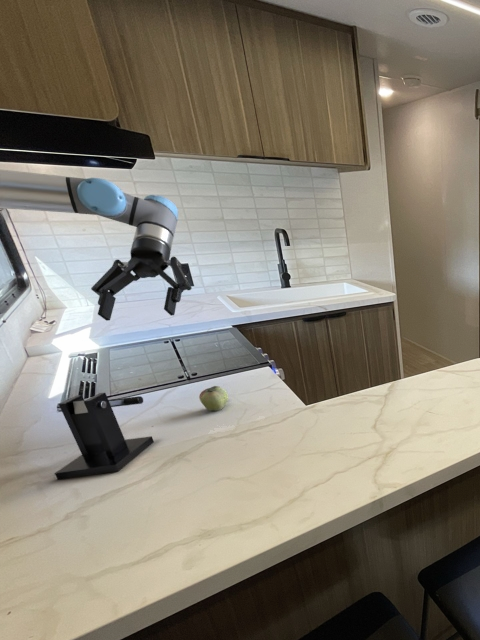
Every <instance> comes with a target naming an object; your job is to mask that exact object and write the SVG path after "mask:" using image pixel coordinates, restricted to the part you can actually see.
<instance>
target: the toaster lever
mask: <svg viewBox="0 0 480 640" xmlns="http://www.w3.org/2000/svg"><path fill="white" fill-rule="evenodd" d="M108 400H109V403H110V405H111V407H112V408H116V407H124V406H134V405H142V404H143V403H144V398H143V396H141V395H140V396H130V397H121V398H113V399H108ZM84 401H85V400H84ZM84 401H76V402H73V405H74V412H75V414H81V413H88V411H87V408H86V406H85V404H84Z"/></svg>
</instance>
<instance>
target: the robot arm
mask: <svg viewBox="0 0 480 640" xmlns="http://www.w3.org/2000/svg"><path fill="white" fill-rule="evenodd" d="M0 209H6V210H7V209H8V210H23V211H38V212H51V213H53V212H54V213H67V214H79V215H92V216H99V217H103V218H105V219H109V220H111V221H115V222H119V223H122V224H126V225H129V226H132V227H136V228H135V231H134V235H133V239H132V240H133V241H132V244H131V248H130V251H129V252H130V258H129V260H128V261H121V260H120V259H115V260H114V261H113V263H112V266H111V267H110V268H109V269H108V270H107V271H106V272H105V273H104V274H103V275H102V276H101V277H100V278H99V279H98V280H97V281H96V282H95V283H94V284H93V286H91V288H90V290H91V291H93V292H94V293H95V294H96V295H98V299H97V300H98V301H97V304H98V306H99V307H98V311H97V315H98V316H99V317H100V318H102V319H103V320H105V321H106V322H107V321H108V322H109V321H111V319H112V314H113V311H114V307H115V302H116V299H117V298H116V297H115V295H117V294H118V293H119V292H121V291H123V289H125V288H126V287H128V286H129V285H130V284H132V283H133V282H138V281H139V280H140V279H147V278H156V277H158V276H159V277H161V278H162V279H163V280H164V281H165V282H166V283H167V284H168V285H169V286H168V287H167V291H166V296H165V301H164V305H163V306H164V307H163V310H164V311H165V312H166V313H167V314H168V315H169V316H175V314H176V309H177V303H180V302H181V299H182V293H183V292H184V291H191V290H192V289H193V288H192V286H191V284H190V282H189V280H188V278H187V277H186V275H185V273H184V271H183V269H182V266H183V265H182V262H180V261H179V259H178V257H176V256H171V252H172V247H173V242H174V238H175V233H176V228H177V223H178V215H179V211H178V207H177V206H176V204H175V203H174V202H173V201H171V200H170V199H168V198H166V197H165V196H161V195H155V194H149V195H146V196H145V197H144V198H141V197H138V196H134V195H131V194H129V193H126V192H123V191H122V189H121V188H119V186H117V185H116V184H115V183H113V182H111V181H110V180H107V179H105V178H104V179H103V178H99V177H89V178H83V177H74V176H73V177H71V176H65V175H55V174H45V173H36V172H27V171H18V170H8V169H0ZM169 266H170V268H171V269H172V270H173V272H174V274H175V275H176V277H177V279H178V281H179V283H177V282H176V281H175V280H174V279H173V278H172V277H171V276H170V275H168V273H166V272H165V270H166V269H168V268H169ZM132 272H133V273H134V274H133V273H132Z"/></svg>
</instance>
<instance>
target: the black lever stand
mask: <svg viewBox="0 0 480 640" xmlns="http://www.w3.org/2000/svg"><path fill="white" fill-rule="evenodd" d="M109 400H110V399H109V398H108V395H107V393H106V392H98V393H97V394H95V395H93V396H91V397H89V398H87V399H84V396H83V395H82V394H78V395H75V396H73V397H70V398H68V399H66V400H64V401H62V402H60V403H59V404H58V406H59V408H60V411H61V413H62V415H63V417H64V419H65V421H66V423H67V425H68V428H69V430H70V432H71V434H72V437H73V439H74V441H75V443H76V445H77V447H78V449H79V452H80V453H81V455H79V456H78V457H76V458H75V459H74V460H72V461H70V462H69V463H67V464H66V465H65V466H63V467H61V468H60V469H59V470H57V471H55V472H54V476H55V478H56V480H57V481H60V480H68V479H74V478H82V477H91V476H97V475H103V474H105V475H106V474H111V473H118V472H120V471H121V470H122V469H123V468H125V467H126V466H127V465H128V464H129V463H131V462H132V461H133V460H134V459H136V458H137V457H138V456H140V454H142V453H143V452H144V451H145V450H146V449H148V448H149V447H150V446H152V445H153V444H154V443H155V441H154V439H153V436H143V437H136V438H128V439H125V437H124V433H123V431H122V430H121V429H122V428H121V427H120V425H119V422H118V420H117V417H116V415H115V412H114V410H113V407H111V405H110V403H109ZM76 401H84V404H85V406H86V408H87V411H88V413H81V414H75V412H74V405H73V402H76Z"/></svg>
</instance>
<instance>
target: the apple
mask: <svg viewBox="0 0 480 640" xmlns="http://www.w3.org/2000/svg"><path fill="white" fill-rule="evenodd" d="M198 398H199V401H200V402H201V404H202V405H203V407H204V408H205V409H206V410H207V411H210V412H212V411H213V412H214V411H218V412H219V411H221V410H222V409H223V408H224V407H225V406H226V405H227V403H228V400H229V394H228V391H226V389H224V388H223V387H221V386H219V385H213V386H211V387H208V388H205V389H203V391H200V393H199V396H198Z"/></svg>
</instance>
